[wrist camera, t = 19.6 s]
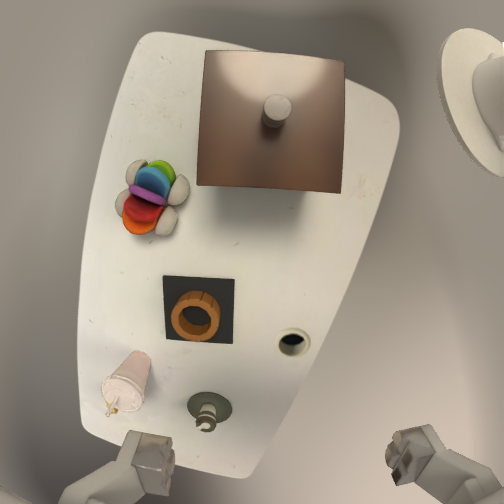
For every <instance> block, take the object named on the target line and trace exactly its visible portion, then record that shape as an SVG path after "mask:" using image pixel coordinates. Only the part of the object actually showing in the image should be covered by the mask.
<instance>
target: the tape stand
mask: <svg viewBox="0 0 504 504" xmlns="http://www.w3.org/2000/svg"><path fill="white" fill-rule="evenodd" d="M344 124H345V62H344V61H338V60H333V59H326V58H320V57H313V56H305V55H296V54H286V53H275V52H261V51H236V50H206V51H205V61H204V72H203V83H202V95H201V109H200V123H199V140H198V159H197V183H196V185H198V186H231V187H253V188H271V189H287V190H301V191H314V192H326V193H337V194H341V185H342V169H343V150H344Z"/></svg>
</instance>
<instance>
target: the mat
mask: <svg viewBox="0 0 504 504" xmlns="http://www.w3.org/2000/svg"><path fill="white" fill-rule="evenodd" d="M234 282H235V279H219V278H200V277H183V276H166V275H164V276H163V295H164V313H165V327H166V339H171V340H182V341H190V339H189V340H187V339H185V338H183V337H181V336H180V335H179V334H180V333H179V334H178V333H177V332H176V330H175V329H174V327H173V326H172V325H173V324H172V320H171V314H172V311H173V309H174V307H175V305H176V303H177V302H178V300H179V298H180V297H181V296H182V295H184V294H186V293H188V292H190V291H191V292H192V291H203V293H204V292H206V293H207V294H209V295H211V296H212V297H213V299H214V298H215V300H216V301H217V303H218V305H219V306H220V322H219V327H218V330H217V331H216V332H215V334H214V335H213V336H212V337H211V338H209V339H207V340H205V341H201V342H209V343H225V344H233V313H234ZM183 316H184V317H185V319H186V320H187V321H188V322H189V323H191V324H193V325H197V326H203V325H205V324H207V323H209V322H210V321H211V317H210V316H209V314H208V312H207V311H206V310H204V309H203V308H201V307H199V306H188V307H186V308H184V309H183ZM195 342H196V341H195Z"/></svg>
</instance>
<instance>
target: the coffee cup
mask: <svg viewBox="0 0 504 504" xmlns="http://www.w3.org/2000/svg"><path fill="white" fill-rule="evenodd" d="M187 407H188V411H189V412H190V414H191V415H192V416H193V417H194V418H196V427H197V428H198V430H200V431H203V432H211V431H213V430H214V429H215V427H216V423H220V422H223V421H225V420H227V419H228V418H229V417H230V415H231V413H232V407H231V405H230V403H229V402H228V401H227V400H226V399H225V398H224V397H222V396H220V395H217V394H214V393H199V394H196V395H194V396H193V397H191V398H190V400H189V401H188V405H187Z"/></svg>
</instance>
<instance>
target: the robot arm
mask: <svg viewBox="0 0 504 504" xmlns="http://www.w3.org/2000/svg"><path fill="white" fill-rule="evenodd" d="M503 45H504V43H503ZM473 92H474V97H475V101H476V104H477V107H478V109H479V112H480V114H481V116H482V118H483V120H484V122H485V123H486V125H487V126H488V128H489V129H490V130H491V132H492V133H493V135H494V138H495V141H496V143H497V146H498V148H499V150H500V151H501V152H504V55H503V56H500V55H498V54H497V53H491V54H490V55H489V56H488V59H487V60H486V61H484V62H481V63H480V64H478V65H477V67H476V68H475V70H474V74H473ZM392 439H393V441H392V442H391V443H390V444H389V445H388V446H387V449H386V452H385V459H386V463H387V466H388V467H390V468H392V469H393V471H392V473H391V475H392V477H393V480H394V482H395V484H396V486H399V485H403V484H407V483H411V482H415V483H416V484H417V485H418V486H420V487H421V488H422V489H424V490H425V491H426V492H428V493H429V494H430V495H432V496H433V497H435V498H436V499H437V500H439V501H440V502H441V503H443V504H504V487H502V486H501V484H500V483H499V481H498V480H497V478H496V477H495V475H494V473H493V472H492V470H491V469H490V468H488V467H486V466H484V465H481V464H479V463H477V462H475V461H473V460H471V459H469V458H467V457H465V456H463V455H461V454H459V453H457V452H454V451H453V450H451V449H448V450H447V449H446V447H445V446H444V444H443V443H442V441H441V440H440V438H439V436H438V435H437V433H436V432H435V430H434V429H433V427H432V426H431V425H429V424H427V425H423V426H419V427H414V428H409V429H405V430H400V431H396V432H395V433H394V434H393V437H392ZM172 444H173V443H172V438H171V437H165V436H160V435H154V434H149V433H144V432H138V431H133V430H130V431H129V432H128V433H127V435H126V437H125V440H124V442H123V445H122V447H121V450H120V452H119V454H118V457H117V459H116V462H115V461H111V462H109V463H108V464H106V465H104V466H103V467H101V468H99V469H98V470H96V471H94V472H92V473H91V474H89V475H87V476H86V477H84V478H82V479H80V480H79V481H77V482H75V483H73V484H71V485H70V486H68V487H66V488H65V490H64V492H63V494H62V496H61V498H60V500H59V502H58V504H134V503H135V502H136V501H137V500H139V499H140V498H141V497H142V496H143V495H144V494H145V493H151V494H157V495H164V496H168V495H169V491H170V486H171V479H170V475H172V474H173V472H174V466H175V453H174V450H173V449H171V448H172ZM0 504H32V503H30V502H28V501H27V500H25V499H23V498H21V497H19V496H17V495H15V494H13V493H12V492H10V491H8V490H6V489H5V488H3V487H1V486H0Z"/></svg>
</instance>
